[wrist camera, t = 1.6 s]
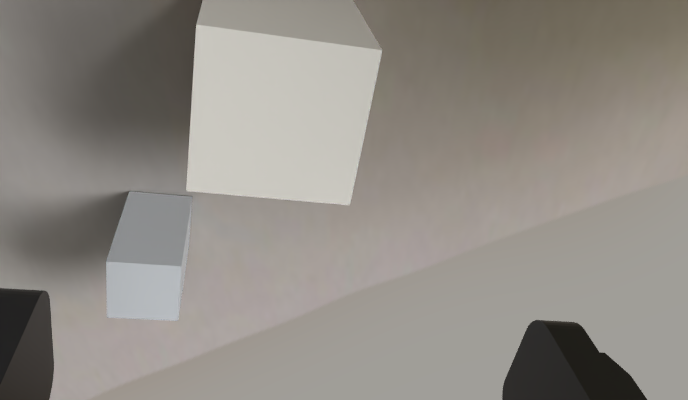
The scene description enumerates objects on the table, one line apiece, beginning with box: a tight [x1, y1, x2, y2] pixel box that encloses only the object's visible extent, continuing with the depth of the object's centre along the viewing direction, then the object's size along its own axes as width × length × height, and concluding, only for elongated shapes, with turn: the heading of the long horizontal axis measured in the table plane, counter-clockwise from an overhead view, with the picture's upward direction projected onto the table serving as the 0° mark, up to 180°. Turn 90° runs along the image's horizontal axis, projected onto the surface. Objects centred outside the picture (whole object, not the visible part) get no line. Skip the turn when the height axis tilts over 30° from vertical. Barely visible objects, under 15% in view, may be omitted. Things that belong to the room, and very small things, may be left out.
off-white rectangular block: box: [186, 0, 382, 205], centre depth 21 cm, size 5×5×7 cm
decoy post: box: [106, 191, 192, 321], centre depth 25 cm, size 3×3×5 cm
